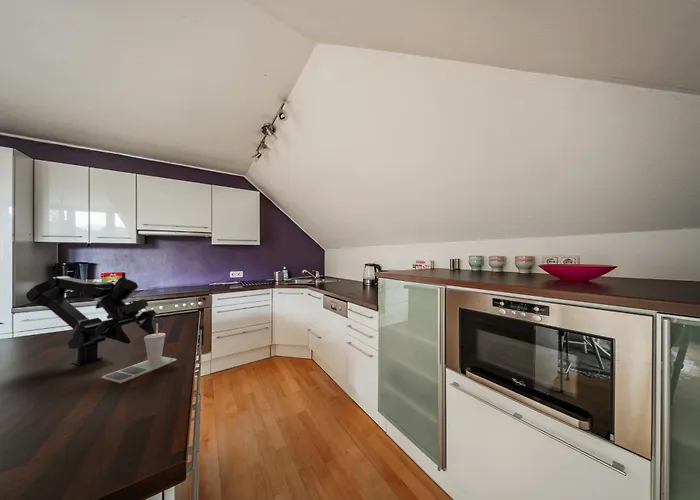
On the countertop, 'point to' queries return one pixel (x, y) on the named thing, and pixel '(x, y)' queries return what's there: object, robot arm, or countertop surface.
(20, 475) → the countertop surface
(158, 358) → the smoothie
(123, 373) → the board
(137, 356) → the countertop surface
